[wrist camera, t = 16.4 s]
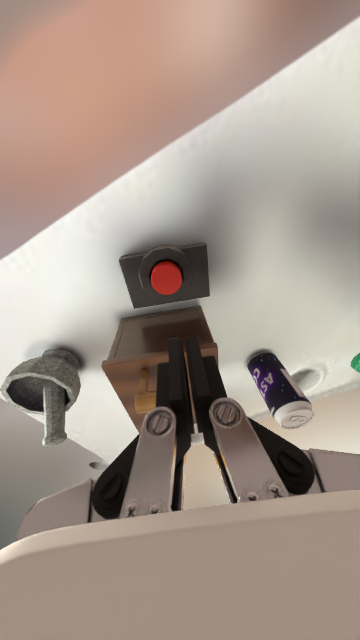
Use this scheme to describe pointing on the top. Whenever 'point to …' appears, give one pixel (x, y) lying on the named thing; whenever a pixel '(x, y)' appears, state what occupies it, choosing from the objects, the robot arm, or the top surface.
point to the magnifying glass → (356, 363)
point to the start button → (166, 277)
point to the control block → (185, 257)
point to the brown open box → (159, 332)
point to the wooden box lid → (143, 380)
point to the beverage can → (280, 391)
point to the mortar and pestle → (45, 390)
